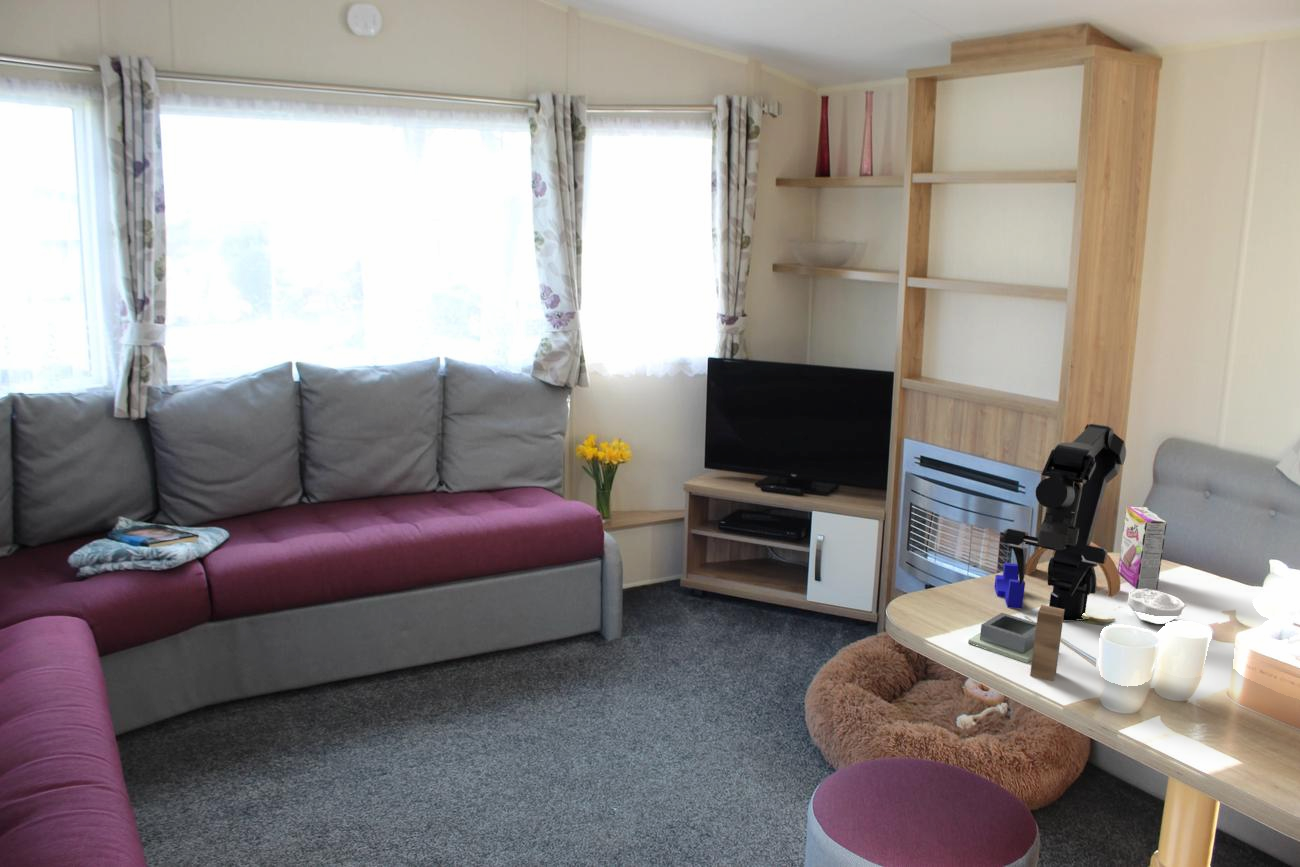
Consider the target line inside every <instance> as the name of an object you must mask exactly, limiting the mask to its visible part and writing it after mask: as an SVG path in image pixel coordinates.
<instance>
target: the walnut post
mask: <svg viewBox="0 0 1300 867" xmlns="http://www.w3.org/2000/svg"><path fill="white" fill-rule="evenodd" d="M1064 610H1065V609H1061V608H1056V607H1051V606H1049V605H1045V604H1041V606H1040V607H1039V609H1038V611H1037V619H1036V623H1037V625H1036V633H1035V641H1034V649H1033V656H1032V660H1031V667H1030V672H1029V673H1030V674H1029V676H1031V677H1034V678H1040V679H1043V680H1046V681H1047V680H1049V681H1051V682H1053V681H1054V680H1055V676H1056V674H1057V669H1058V662H1059V655H1060V654H1059V652H1060V646H1061V639H1062V638H1061V637H1062V631H1063V625H1064V624H1063V623H1064V621H1063V617H1064Z"/></svg>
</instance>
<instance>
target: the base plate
mask: <svg viewBox="0 0 1300 867" xmlns="http://www.w3.org/2000/svg"><path fill="white" fill-rule="evenodd" d="M980 633H981V632H979V633H977V634H976V635H974V636H972V637H971V638H969V639H968V642H967V643H971V644H974V645H978V646H980V647H983V648H986V649H988V650H987V651H989V650H991V651H990V652H992V651H994V652H993V653H995V652H997V653H996V654H998V655H1002V656H1004V657H1008V658H1011V659H1013V660H1016V661H1020V662H1022V663H1025V664H1028V663H1029V662H1032V656H1033V649H1034V647H1033V648H1032V649H1030V650H1029V651H1027V652H1026V653H1024V654H1021V653H1018V652H1015V651H1012V650H1009V649H1006V648H1003V647H1000V646H997V645H994V644H991V643H988V642H985V641H982V640H980ZM971 644H970V645H971ZM974 645H973V646H974ZM980 647H979V648H980ZM983 648H982V649H983ZM986 649H985V650H986Z"/></svg>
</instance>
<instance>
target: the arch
mask: <svg viewBox="0 0 1300 867" xmlns="http://www.w3.org/2000/svg"><path fill="white" fill-rule="evenodd" d="M1090 545H1091V546H1095V547H1100V546H1099V545H1097V544H1096V543H1094V542H1093V541H1091V543H1090ZM1046 551H1048V549H1046V548H1041V547H1038V549H1037V550H1036V551H1035V552H1033V553H1032V554H1031V556H1029V558H1028V559H1027V560H1026V567H1025V575H1030V574H1033V572H1035V571H1036V570H1037V567H1038V564H1039V561H1040V559H1041V557H1042V556H1043V554H1044V553H1045V552H1046ZM1097 564H1098V565H1097V566H1099V567H1100V568H1101V571H1102V572H1103V575H1104V576H1105V579H1106V580H1105V581H1106V584H1107V590H1108V591H1107V596H1108V597H1111V598H1112V597H1114V596H1115V595H1117V594H1118V593H1119V591H1121V578H1120V577H1121V575H1120V574H1119V573H1118V566H1117V565H1116V564H1115V561H1114V560H1113V559H1112V558H1111V556H1110V555H1109V554H1108V553H1107V558H1106V563H1105V564H1101V563H1097Z"/></svg>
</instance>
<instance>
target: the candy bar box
mask: <svg viewBox="0 0 1300 867" xmlns="http://www.w3.org/2000/svg"><path fill="white" fill-rule="evenodd" d="M1125 508H1126V509H1125V517H1124V523H1123V529H1122V530H1123V531H1122V537H1121V538H1122V539H1121V545H1120V551H1119V552H1120V553H1119V561H1118V566H1117V570H1118V573H1119V576H1120V577H1122V578H1123V579H1125V581H1127V582H1128V583H1129V584H1130V585H1131V586H1132V587H1133V588H1134V589H1146V588H1147V589H1150V590H1156V591H1158V584H1159V580H1160V573H1161V566H1162V559H1163V552H1164V544H1165V538H1166V529H1167V524H1168V522H1167V521H1166V520H1164V519H1163V518H1162V517H1160V516H1159V515H1158V514H1156V513H1155V512H1154V511H1152V510H1151V509H1150V508H1148V507H1146V506H1131V505H1130V506H1129V505H1128V506H1126V507H1125Z"/></svg>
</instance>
